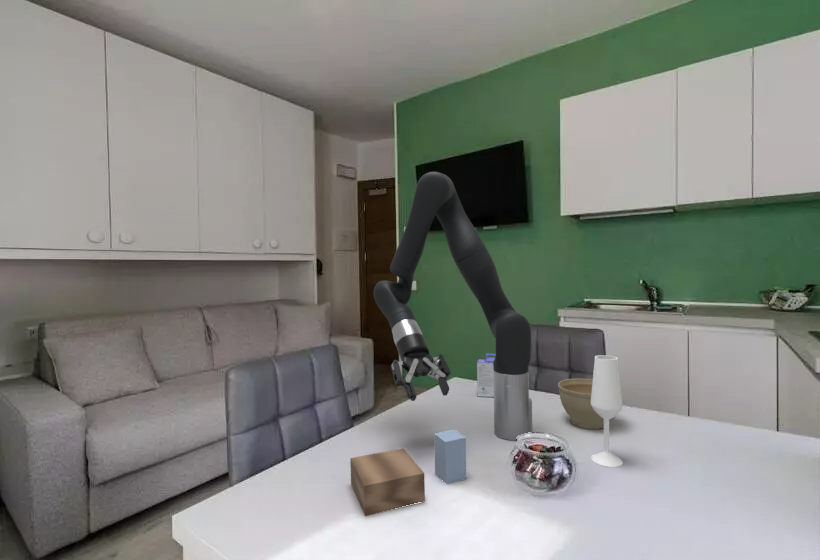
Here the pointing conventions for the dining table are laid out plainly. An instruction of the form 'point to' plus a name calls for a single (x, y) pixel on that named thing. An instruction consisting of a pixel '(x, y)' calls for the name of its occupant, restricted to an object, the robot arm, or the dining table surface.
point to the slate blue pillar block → (450, 456)
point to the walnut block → (386, 481)
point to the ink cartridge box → (485, 376)
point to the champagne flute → (606, 402)
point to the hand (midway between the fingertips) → (430, 396)
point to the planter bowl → (579, 403)
